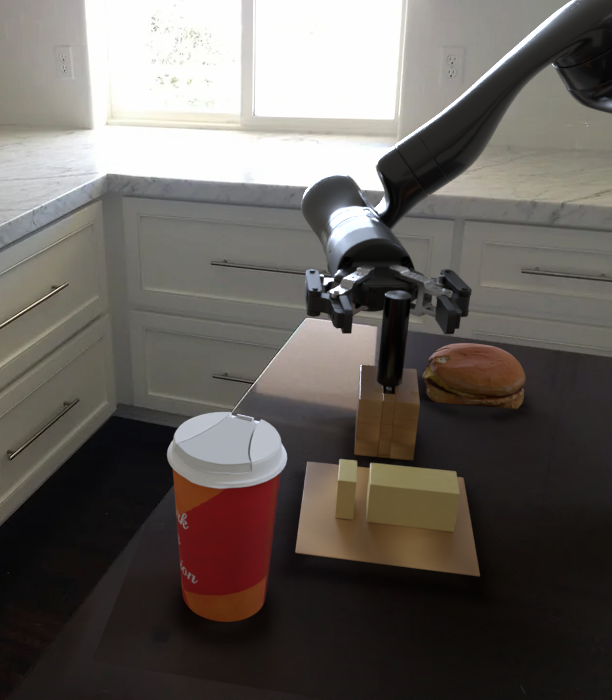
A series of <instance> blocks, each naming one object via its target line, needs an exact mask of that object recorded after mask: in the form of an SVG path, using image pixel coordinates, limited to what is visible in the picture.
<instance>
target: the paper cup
mask: <svg viewBox="0 0 612 700" xmlns="http://www.w3.org/2000/svg"><path fill="white" fill-rule="evenodd" d="M166 457H167V461H168V464H169V465H170V467H171V468H172V475H173V476H172V477H173V490H174V502H175V503H174V504H175V516H176V530H177V543H178V544H177V545H178V556H179V565H180V566H179V568H180V580H181V581H180V582H181V593H182V598H183V601H184V603H185V605H186V606H187V607H188V608H189V609H190V611H192V613H193V612H194V613H195V614H196V615H198V616H199V617H202V618H204V619H207V620H210V621H214V622H222V623H231V622H232V623H233V622H238V621H243V620H245V619H248V618H250V617H253V616H254V615H255V614H257V613H258V612H259V611H260V610H261V609H262V607H263V606H264V604H265V602H266V596H267V590H268V583H269V575H270V566H271V556H272V549H273V543H274V542H273V541H274V533H275V525H276V515H277V506H278V497H279V490H280V481H281V473H282V471H283V470H284V469H285V467H286V465H287V460H288V453H287V450H286V448H285V446H284V444H283V443H282V438H281V435H280V433H279V432H278V430H277V429H276V428H275V427H274V426H273V425H272V424H271V423H269V422H268V421H266V420H264V419H260V420H255V417H252V416H248V415H243V414H239V413H237V414H236V415H233V414H232V412H231V411H215V412H207V413H202V414H200V415H196V416H193V417H191V418H189V419H187V420H185V421H184V422H182V424H180V425H179V427H178V428H177V429H176V430H175V432H174V434H173V439H172V440H171V442H170V444H169V446H168V448H167V452H166Z"/></svg>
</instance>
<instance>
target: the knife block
mask: <svg viewBox="0 0 612 700" xmlns="http://www.w3.org/2000/svg"><path fill="white" fill-rule="evenodd" d="M377 368H378V365H368V364H367V365H366V364H360V366H359V378H358V387H357V398H356V412H355V428H354V429H355V430H354V453H353V454H354V455H355V456H366V457H375V458H382V459H383V458H384V459H394V460H402V461H403V460H404V461H405V460H406V461H414V457H415V447H416V441H417V431H418V425H419V424H418V423H419V416H420V408H421V402H420V391H419V382H418V372H417V369H416V368H408V367H407V368H406V367H404V369H403V378H402V383H401V384H400V385H399V386H395V387H392V391H391V394H385V386H384V385H381V384H379V383H378V382H377V380H376V378H377Z"/></svg>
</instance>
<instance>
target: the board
mask: <svg viewBox="0 0 612 700" xmlns="http://www.w3.org/2000/svg"><path fill="white" fill-rule="evenodd" d="M338 471H339V464H335V463H325V462H317V461H306V468H305V475H304V482H303V490H302V496H301V497H302V498H301V504H300V512H299V520H298V529H297V536H296V542H295V543H296V544H295V552H294V553H295V554H299V555H305V556H306V555H307V556H315V557H323V558H332V559H340V560H346V561H347V560H348V561H355V562H363V563H370V564H376V565H377V564H378V565H379V564H380V565H384V566H385V565H387V566H393V567H394V566H395V567H403V568H409V569H416V570H417V569H418V570H426V571H434V572H439V573H440V572H442V573H450V574H457V575H464V576H473V577H481V573H480V568H479V561H478V555H477V549H476V542H475V538H474V537H475V536H474V531H473V526H472V519H471V513H470V508H469V503H468V502H469V501H468V495H467V489H466V484H465V478H464V477H461V476H457V480H458V486H459V493H460V496H459V502H458V509H457V515H456V522H455V529H454V532H449V531H440V530H432V529H423V528H415V527H406V526H397V525H389V524H380V523H372V522H367V521H366V516H367V491H368V481H369V471H370V467H364V466H357V485H356V495H355V506H354V517H353V520H350V519H342V518H335V510H336V495H337V483H338Z"/></svg>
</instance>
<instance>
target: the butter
mask: <svg viewBox="0 0 612 700" xmlns="http://www.w3.org/2000/svg"><path fill="white" fill-rule="evenodd" d="M369 468H370V471H369V481H368V491H367V516H366V521H367V522H372V523H380V524H389V525H397V526H406V527H415V528H423V529H432V530H440V531H449V532H454V529H455V522H456V515H457V509H458V502H459V496H460V493H459V486H458V480H457V477H458V475H457V474H458V473H457V471H455V470H446V469H437V468H426V467H415V466H408V465H407V466H406V465H397V464H387V463H378V462H370V463H369Z"/></svg>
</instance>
